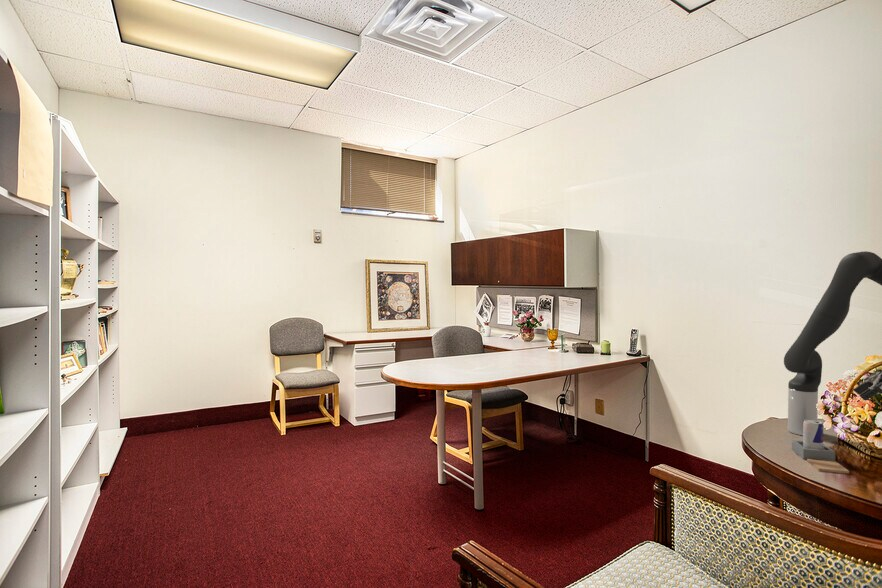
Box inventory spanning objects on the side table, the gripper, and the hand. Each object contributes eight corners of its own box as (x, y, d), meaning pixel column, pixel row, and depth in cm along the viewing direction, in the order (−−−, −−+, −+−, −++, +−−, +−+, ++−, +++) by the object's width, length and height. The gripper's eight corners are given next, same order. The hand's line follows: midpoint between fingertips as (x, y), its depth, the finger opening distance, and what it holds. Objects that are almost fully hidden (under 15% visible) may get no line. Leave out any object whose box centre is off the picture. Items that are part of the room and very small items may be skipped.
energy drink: (826, 458, 158) (827, 424, 157) (810, 458, 158) (810, 424, 157) (815, 452, 163) (815, 419, 162) (799, 452, 163) (799, 419, 163)
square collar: (791, 449, 166) (791, 440, 166) (821, 452, 163) (821, 442, 163) (803, 459, 157) (803, 449, 157) (835, 462, 155) (835, 451, 155)
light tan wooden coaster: (807, 461, 156) (807, 458, 156) (835, 463, 154) (835, 461, 154) (818, 470, 148) (818, 468, 148) (849, 473, 146) (849, 471, 146)
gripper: (889, 351, 154) (843, 382, 161) (902, 358, 142) (853, 391, 149) (911, 368, 152) (864, 399, 158) (926, 376, 140) (875, 409, 146)
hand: (858, 395), depth 153 cm, fingers open, 8 cm apart
